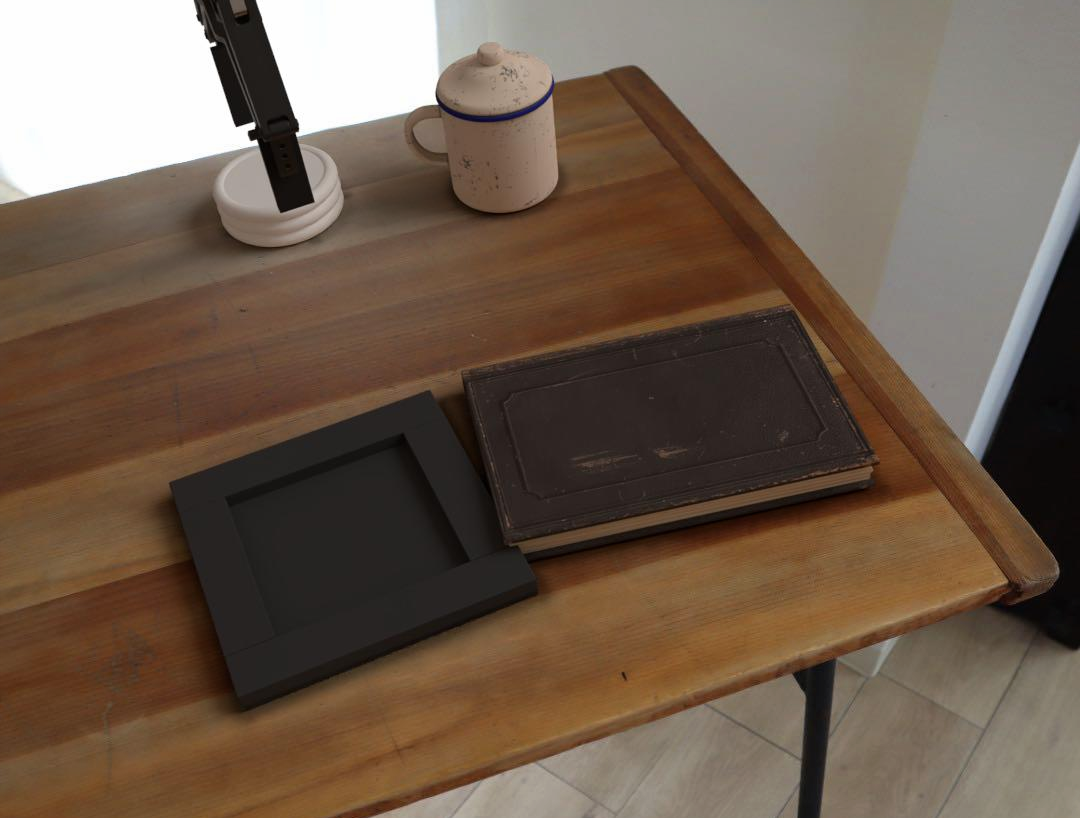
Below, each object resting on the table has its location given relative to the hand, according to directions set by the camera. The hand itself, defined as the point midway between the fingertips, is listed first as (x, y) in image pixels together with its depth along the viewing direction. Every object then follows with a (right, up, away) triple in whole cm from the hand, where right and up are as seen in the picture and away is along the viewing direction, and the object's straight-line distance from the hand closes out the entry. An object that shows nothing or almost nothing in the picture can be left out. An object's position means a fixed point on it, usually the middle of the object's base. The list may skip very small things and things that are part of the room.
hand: (272, 161), depth 92 cm
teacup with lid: (+17, -1, +4) cm, 17 cm away
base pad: (+9, -30, -19) cm, 37 cm away
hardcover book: (+29, -23, -16) cm, 40 cm away
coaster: (0, -3, +4) cm, 5 cm away
